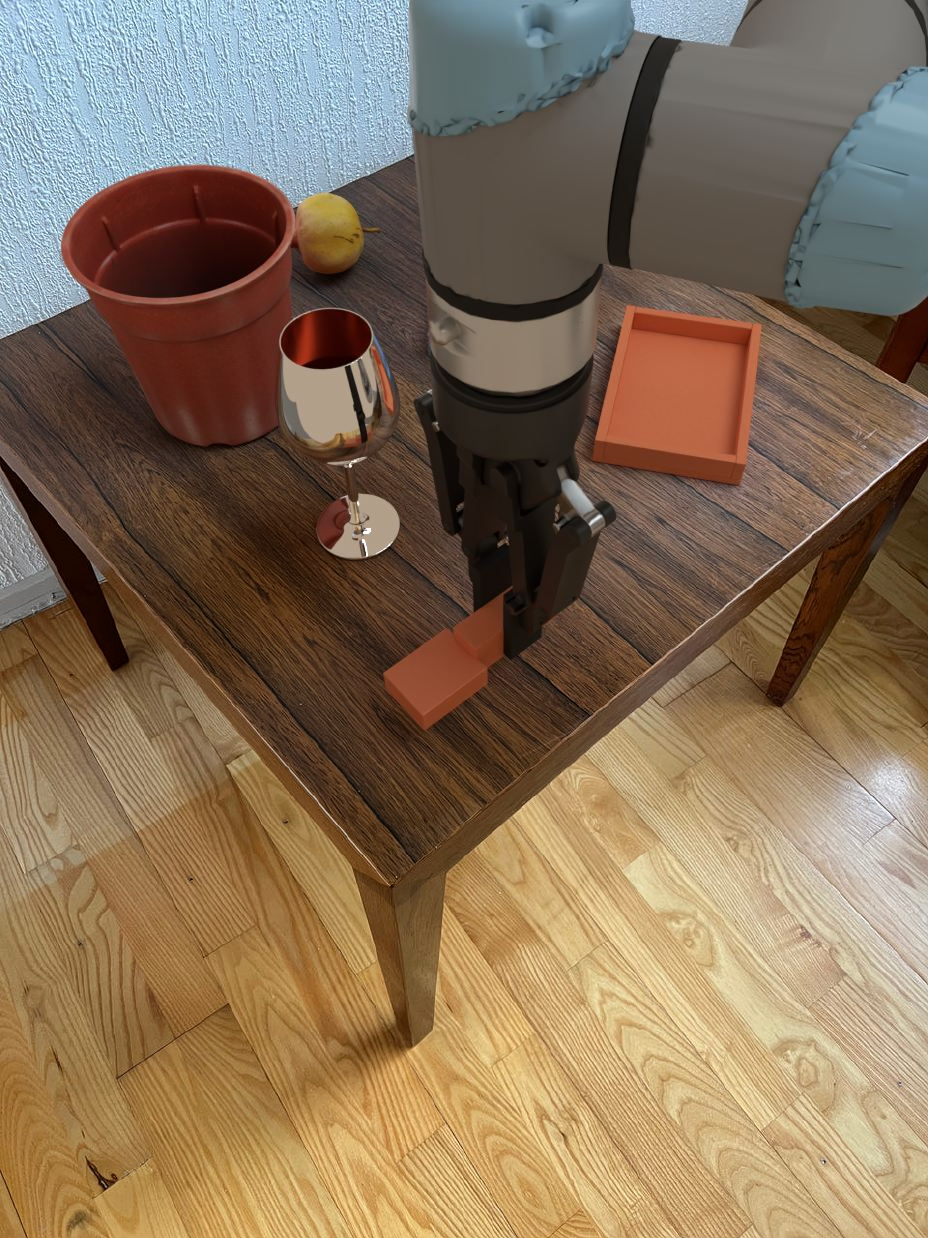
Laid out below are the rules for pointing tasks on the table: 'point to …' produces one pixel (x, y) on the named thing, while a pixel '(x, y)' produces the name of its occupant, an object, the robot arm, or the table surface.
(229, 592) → the table surface
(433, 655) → the red offset step block
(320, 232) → the fruit
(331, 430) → the wineglass
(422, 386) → the table surface
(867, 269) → the robot arm
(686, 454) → the red tray
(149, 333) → the flower pot
